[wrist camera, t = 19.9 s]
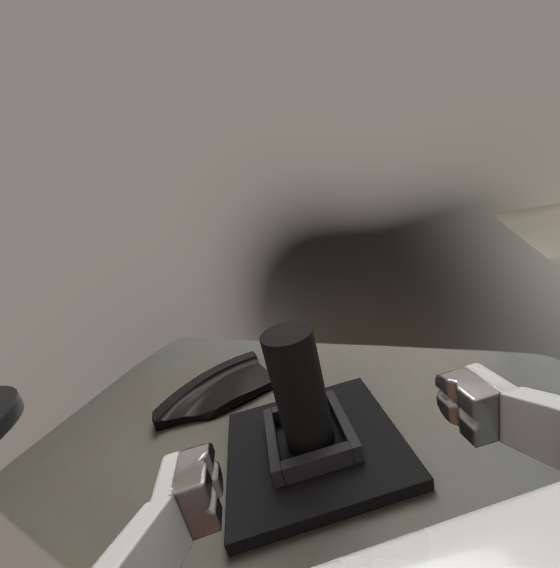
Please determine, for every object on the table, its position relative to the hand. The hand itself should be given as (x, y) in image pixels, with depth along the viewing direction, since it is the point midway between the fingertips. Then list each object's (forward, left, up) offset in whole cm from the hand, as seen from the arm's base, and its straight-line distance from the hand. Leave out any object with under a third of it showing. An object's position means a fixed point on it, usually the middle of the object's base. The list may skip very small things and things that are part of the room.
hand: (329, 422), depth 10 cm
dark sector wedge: (-6, +24, -13) cm, 28 cm away
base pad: (+1, +11, -13) cm, 17 cm away
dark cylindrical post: (+1, +11, -12) cm, 16 cm away
